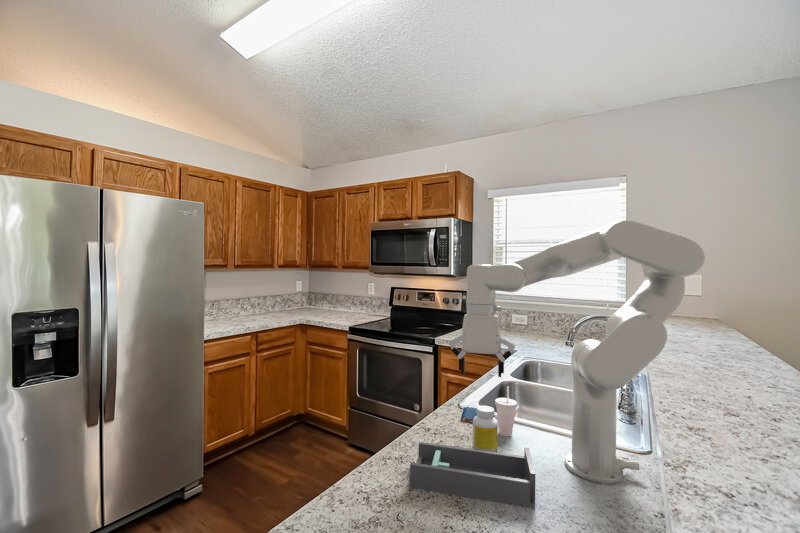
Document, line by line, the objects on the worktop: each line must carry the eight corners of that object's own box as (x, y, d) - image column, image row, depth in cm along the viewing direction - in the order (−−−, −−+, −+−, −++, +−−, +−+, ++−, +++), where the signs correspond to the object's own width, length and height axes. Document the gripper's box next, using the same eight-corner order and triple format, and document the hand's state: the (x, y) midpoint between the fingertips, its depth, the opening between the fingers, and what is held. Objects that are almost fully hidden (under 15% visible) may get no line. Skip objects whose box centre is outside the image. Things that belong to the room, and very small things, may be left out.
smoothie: (519, 439, 102) (520, 390, 102) (497, 438, 102) (498, 390, 102) (512, 429, 108) (513, 383, 108) (492, 428, 108) (492, 383, 109)
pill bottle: (498, 460, 90) (498, 414, 90) (472, 457, 91) (473, 412, 91) (496, 448, 96) (497, 405, 97) (472, 445, 98) (473, 403, 98)
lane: (528, 478, 82) (528, 448, 82) (534, 508, 72) (535, 474, 72) (419, 461, 88) (419, 433, 88) (409, 487, 78) (410, 455, 78)
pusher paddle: (450, 464, 85) (450, 451, 85) (447, 483, 77) (447, 470, 77) (435, 462, 86) (436, 449, 86) (430, 481, 78) (431, 467, 78)
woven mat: (494, 428, 110) (494, 421, 110) (460, 423, 113) (460, 417, 113) (495, 415, 120) (495, 409, 120) (464, 411, 123) (464, 405, 123)
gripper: (514, 310, 96) (514, 373, 96) (450, 308, 101) (450, 368, 100) (515, 312, 89) (515, 381, 88) (446, 310, 94) (446, 375, 93)
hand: (481, 374), depth 94 cm, fingers open, 9 cm apart
